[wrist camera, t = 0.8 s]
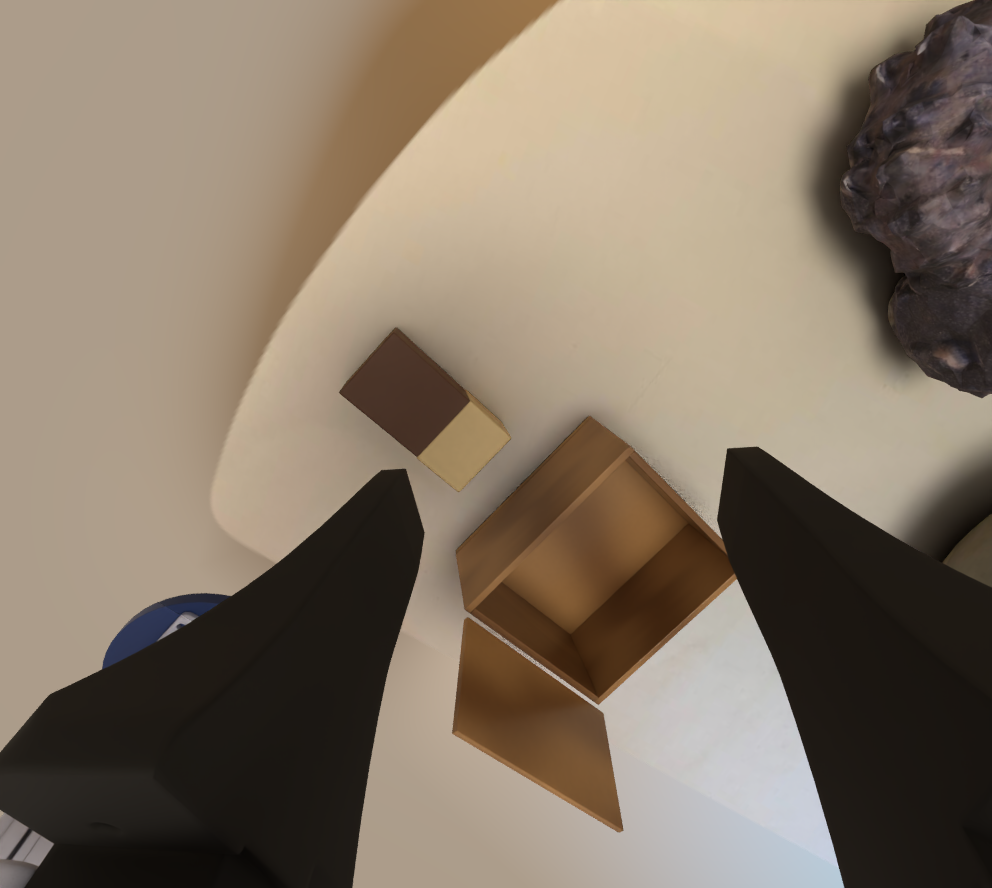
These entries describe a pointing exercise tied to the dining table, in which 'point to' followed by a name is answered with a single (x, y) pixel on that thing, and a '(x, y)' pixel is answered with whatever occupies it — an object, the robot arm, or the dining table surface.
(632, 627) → the box
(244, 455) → the dining table surface
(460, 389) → the chocolate bar
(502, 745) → the flap
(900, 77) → the seashell
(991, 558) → the bowl
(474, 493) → the dining table surface
